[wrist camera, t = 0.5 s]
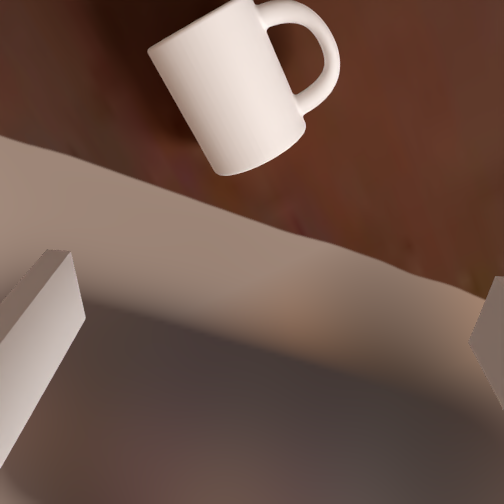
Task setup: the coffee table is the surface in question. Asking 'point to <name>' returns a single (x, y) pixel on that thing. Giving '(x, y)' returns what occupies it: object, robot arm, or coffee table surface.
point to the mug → (242, 81)
